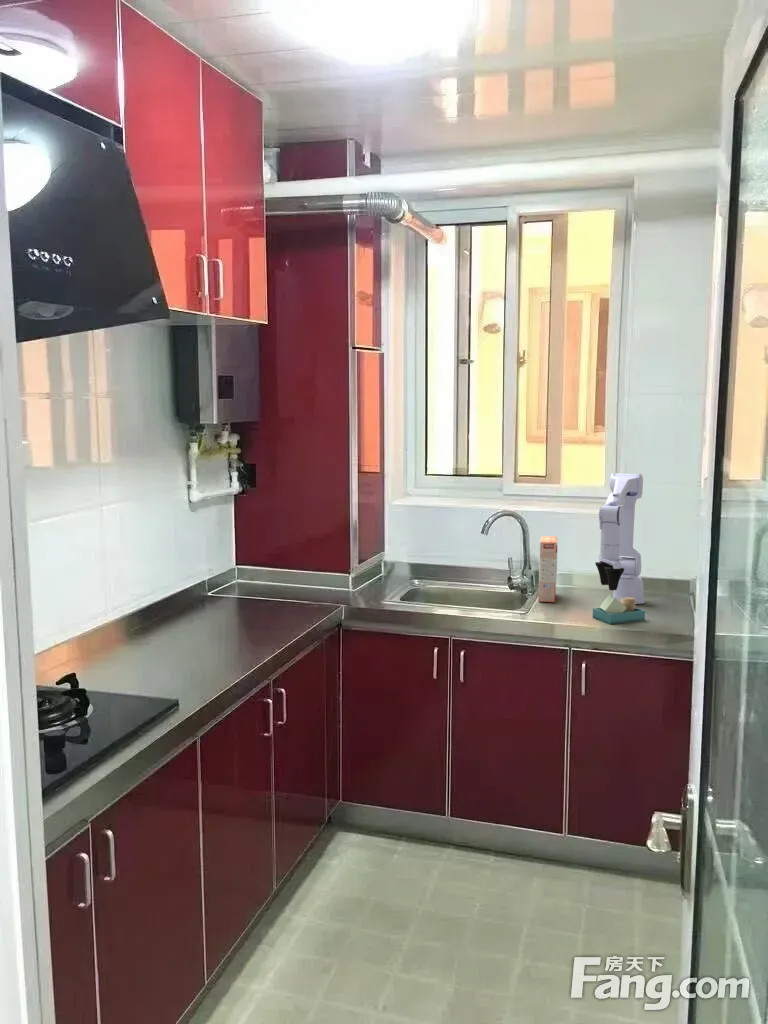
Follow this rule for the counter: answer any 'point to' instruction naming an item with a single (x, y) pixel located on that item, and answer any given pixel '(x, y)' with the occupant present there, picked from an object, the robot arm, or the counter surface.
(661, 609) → the counter surface
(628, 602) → the cork cylinder
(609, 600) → the sage cube
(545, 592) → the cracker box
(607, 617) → the bin
